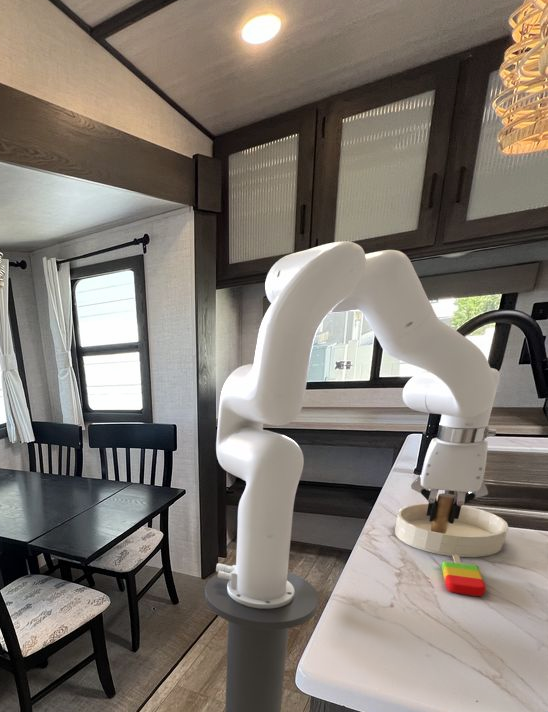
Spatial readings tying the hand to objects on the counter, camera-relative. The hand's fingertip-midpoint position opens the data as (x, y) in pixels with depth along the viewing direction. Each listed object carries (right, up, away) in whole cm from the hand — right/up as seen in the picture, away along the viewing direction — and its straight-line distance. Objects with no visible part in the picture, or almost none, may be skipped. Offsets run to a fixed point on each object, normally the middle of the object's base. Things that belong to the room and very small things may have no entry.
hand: (441, 519), depth 99 cm
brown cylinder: (0, -3, +1) cm, 4 cm away
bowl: (+3, -4, +3) cm, 6 cm away
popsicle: (-5, -11, -11) cm, 17 cm away
